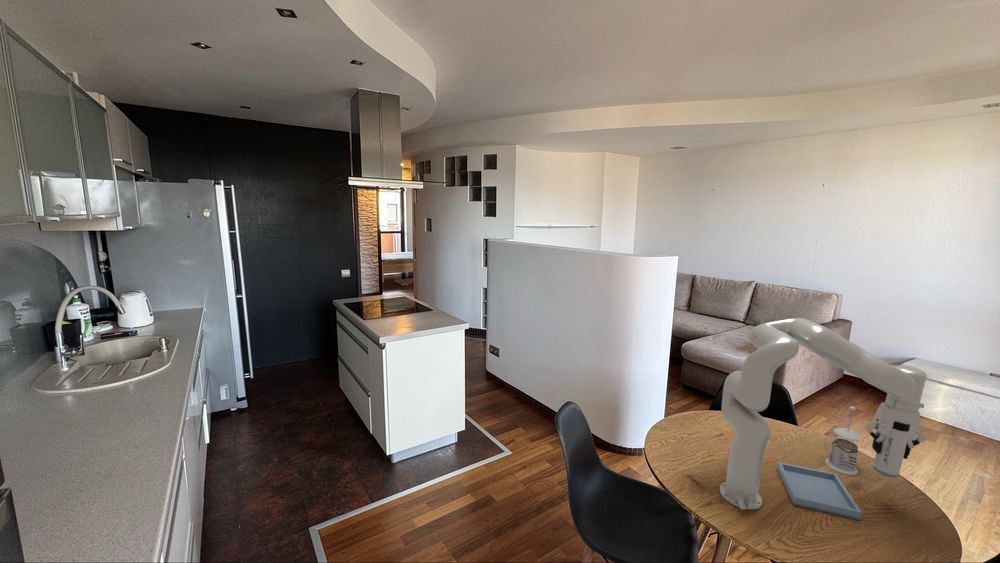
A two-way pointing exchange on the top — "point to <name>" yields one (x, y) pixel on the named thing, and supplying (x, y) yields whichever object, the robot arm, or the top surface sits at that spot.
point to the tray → (818, 490)
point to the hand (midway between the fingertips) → (889, 453)
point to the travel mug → (892, 451)
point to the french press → (838, 461)
